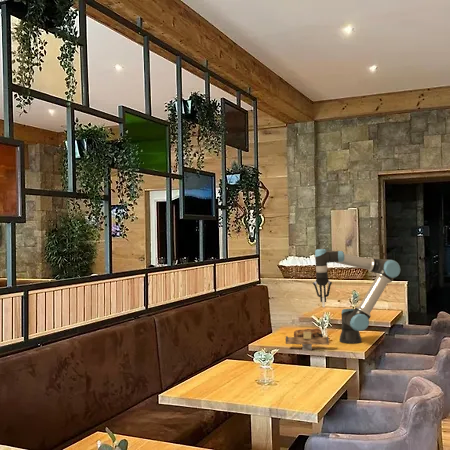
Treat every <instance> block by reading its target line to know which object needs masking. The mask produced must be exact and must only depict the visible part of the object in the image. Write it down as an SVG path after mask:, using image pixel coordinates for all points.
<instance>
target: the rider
mask: <svg viewBox="0 0 450 450" xmlns="http://www.w3.org/2000/svg"><path fill="white" fill-rule="evenodd" d="M303 336H304V339H311V332H304V333H303Z"/></svg>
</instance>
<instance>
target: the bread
mask: <svg viewBox="0 0 450 450" xmlns="http://www.w3.org/2000/svg"><path fill="white" fill-rule="evenodd" d="M304 332H311V338H324V336H323V332H322V330H321V329H320V328H306V329H296V330H294V332H293V337H304V336H303V333H304Z"/></svg>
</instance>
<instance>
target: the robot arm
mask: <svg viewBox="0 0 450 450" xmlns="http://www.w3.org/2000/svg"><path fill="white" fill-rule="evenodd" d="M314 257H315V272H316V275H315V277H316V279H315V280H314V282H312V285H313V286H314V289H315V293H316V295H317V297H318V298H319V300H320V303H321V304H322V305H321V307H322V308H325V307H326V303H327V297H329V295H330V291H331V285H332V284H333V282H332V281H330V279H329V278H328V277H329V275H328V264H329V263H330V264H331V263H336V264H340V265H346V266H349V267H355V268H359V269H364V270H368V272H369V273H371V272H372V273H374V274H375V279H374V280H373V282H372V283H371V286H370V287H369V289H368V290H367V292H366V294H365V296H364V297H363V299H362V301H361V302H360V304H359V305H358V306H355V307H354V308H343V309H341V332H340V335H339V342H340V343H344V344H360V343H362V337H361V333H360V332H362V331H365V330H367V328H368V327H369V325H370V318H371V313H372V311H373V310H374V307H375V305H376V303H378V301H379V299H380V298H381V296H382V294H383V292H384V290H385V289H386V288H387V285H388V284H390V283H392V281H393V280H394V279H395V278H397V277H399V275H400V273H401V266H400V263H398V262H397V261H396V260H394V259H387V258H386V259H385V258H384V259H383V258H382V259H381V258H380V259H379V258H372V257H371V258H367V257H361V256H357V255H352V254H348V253H344V251H343V250H330V249H325V248H317V249H315V251H314ZM327 284H328V286H327ZM317 285H318V286H319V289H318V286H317ZM326 286H327V288H326ZM322 287H323V288H322Z"/></svg>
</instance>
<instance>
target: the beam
mask: <svg viewBox="0 0 450 450" xmlns="http://www.w3.org/2000/svg"><path fill="white" fill-rule="evenodd" d="M329 341H330V340H329V336H326V337H323V338H311V339H304V337H294V336H291V337H290V336H288V335H287V336H285V344H286V345H297V344H302V345H301V346H302V351H309V352H312V350H313V349H312V348H313V346H312V345H328V346H329V343H330V342H329Z"/></svg>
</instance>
